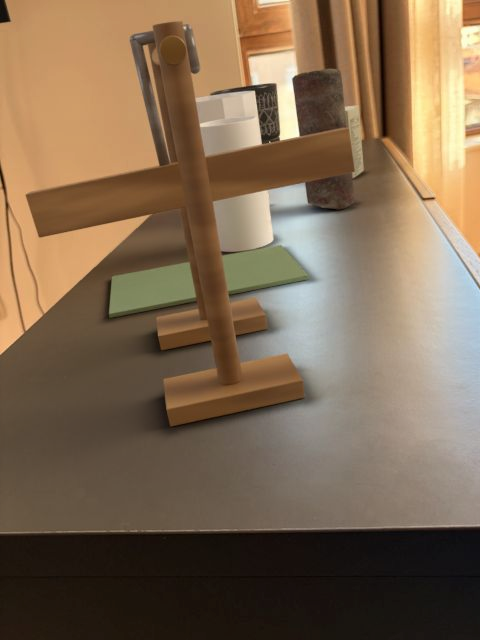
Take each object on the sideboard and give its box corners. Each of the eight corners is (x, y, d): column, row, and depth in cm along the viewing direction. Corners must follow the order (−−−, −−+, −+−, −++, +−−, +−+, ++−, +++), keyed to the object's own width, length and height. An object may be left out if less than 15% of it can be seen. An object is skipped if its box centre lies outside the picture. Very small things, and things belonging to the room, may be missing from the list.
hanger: (43, 234, 49) (-11, 64, 44) (350, 170, 50) (327, -3, 45) (38, 238, 47) (-18, 62, 43) (355, 171, 48) (332, -7, 44)
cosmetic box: (343, 172, 126) (338, 106, 120) (364, 171, 123) (360, 104, 118) (331, 180, 121) (325, 111, 115) (352, 179, 118) (347, 109, 113)
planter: (273, 171, 137) (262, 83, 130) (297, 178, 126) (286, 82, 119) (216, 183, 134) (202, 93, 127) (236, 191, 123) (221, 93, 115)
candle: (302, 214, 99) (286, 74, 91) (311, 202, 105) (297, 71, 97) (351, 210, 97) (339, 67, 88) (358, 199, 103) (347, 64, 95)
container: (204, 203, 117) (185, 98, 109) (279, 197, 112) (266, 87, 105) (173, 225, 104) (150, 108, 97) (257, 219, 100) (239, 96, 92)
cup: (202, 250, 88) (180, 128, 81) (238, 233, 94) (220, 118, 87) (250, 253, 83) (231, 124, 76) (285, 235, 89) (269, 114, 82)
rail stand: (159, 331, 63) (95, 46, 52) (258, 311, 64) (215, 29, 53) (170, 427, 46) (79, 32, 35) (305, 397, 47) (257, 7, 36)
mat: (112, 280, 81) (111, 276, 81) (281, 248, 83) (281, 244, 83) (109, 318, 68) (108, 313, 68) (308, 279, 71) (308, 275, 70)
